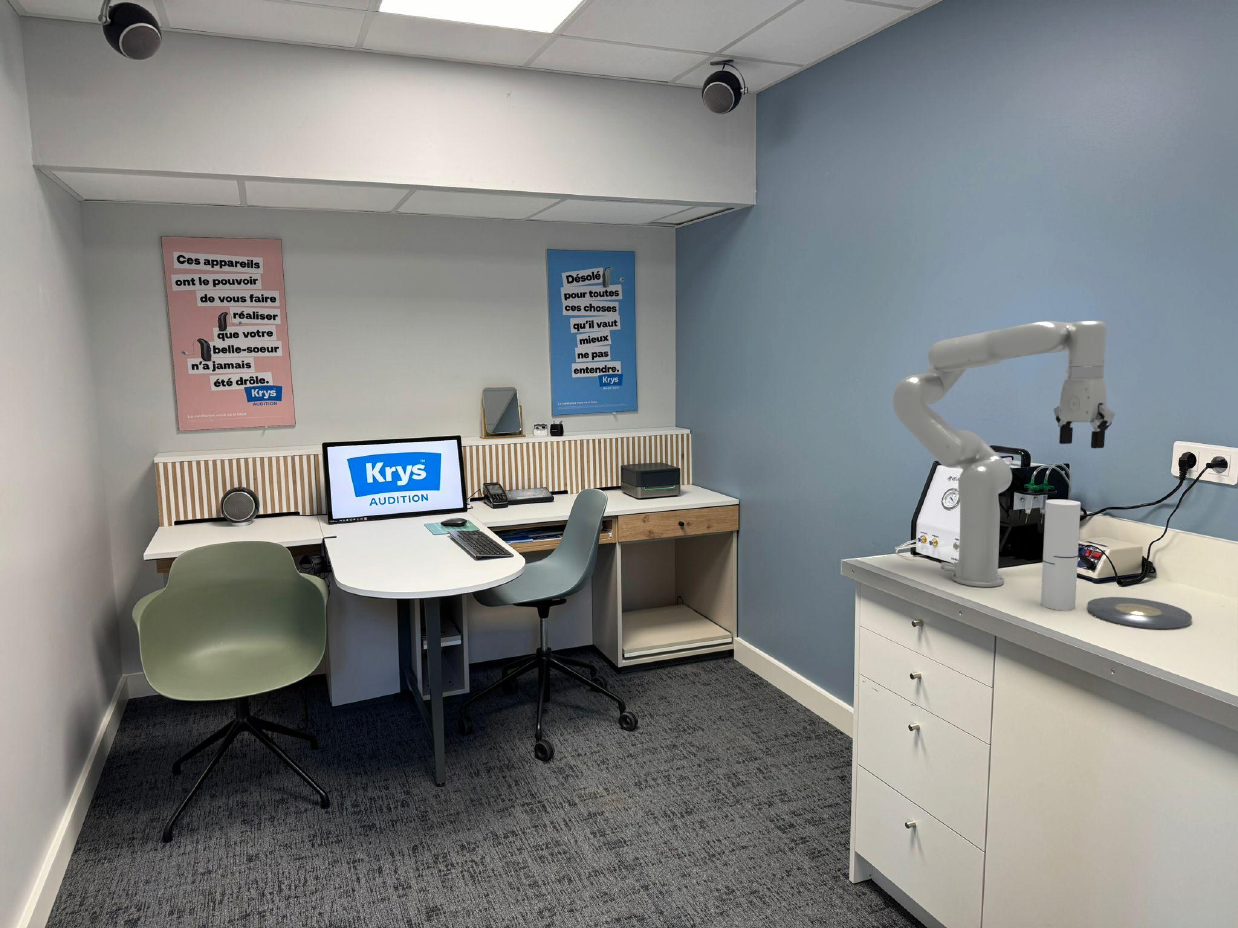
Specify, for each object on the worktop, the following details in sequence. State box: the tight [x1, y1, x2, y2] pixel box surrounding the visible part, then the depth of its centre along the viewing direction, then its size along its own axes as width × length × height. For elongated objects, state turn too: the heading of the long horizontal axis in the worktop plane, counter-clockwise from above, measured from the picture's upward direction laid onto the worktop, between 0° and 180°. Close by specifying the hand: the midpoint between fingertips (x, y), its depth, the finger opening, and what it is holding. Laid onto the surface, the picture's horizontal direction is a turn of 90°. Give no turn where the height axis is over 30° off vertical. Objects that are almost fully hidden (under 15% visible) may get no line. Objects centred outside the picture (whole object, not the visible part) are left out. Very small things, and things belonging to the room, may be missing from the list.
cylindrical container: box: [1040, 499, 1081, 611], centre depth 191 cm, size 7×7×25 cm
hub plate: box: [1086, 596, 1193, 631], centre depth 185 cm, size 20×20×1 cm
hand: (1081, 445), depth 195 cm, fingers open, 9 cm apart
